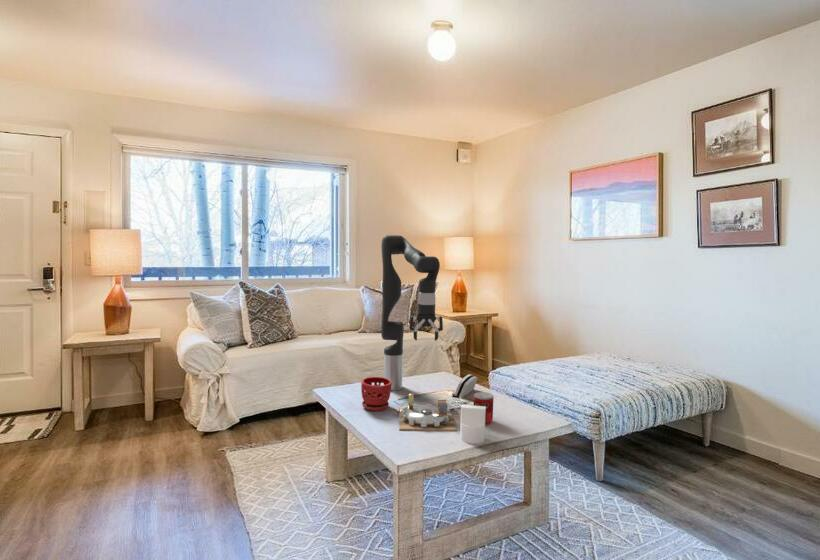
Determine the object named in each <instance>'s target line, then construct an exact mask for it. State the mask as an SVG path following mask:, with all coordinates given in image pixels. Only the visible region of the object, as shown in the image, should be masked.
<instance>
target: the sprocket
mask: <svg viewBox="0 0 820 560" xmlns="http://www.w3.org/2000/svg"><path fill="white" fill-rule="evenodd" d="M404 409H405V410H402V411H401V417H402V420H403V421H404V422H405V421H407V422H409V424H410V425H420V426H421V427H427V426H434V427H438V426H440V425H441V424H448V423H449V420H451V418H452V417H453V414H452V412H451V413H450V410H451V409H450V410H448V409H449V408H447V415H439V413H438V405H432V403H431V404H429V403H426V404H419V403H418V404H414V393H412V392H411V393H408V406H405V407H404Z"/></svg>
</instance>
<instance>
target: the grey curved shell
mask: <svg viewBox="0 0 820 560" xmlns="http://www.w3.org/2000/svg"><path fill="white" fill-rule="evenodd" d="M477 381H478V377H477V376H475V375H473V374H470V373H469V374H467V375H466V376H464V377H463V378H462V379H461V380H460V381H459V383H458V385H457V387H456V390H455V391H453V392H452V394H451V396H452V395H454V396H455V397H458V396H459V397H462V398H464V397H465V396H467V395H468V394H469V393H470V392H473V391H474V389H475V387H476V384H477ZM459 397H458V398H459Z"/></svg>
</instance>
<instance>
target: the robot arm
mask: <svg viewBox="0 0 820 560" xmlns="http://www.w3.org/2000/svg"><path fill="white" fill-rule="evenodd" d="M392 255H403V256H404V259H405V260H406V262H407V263H409V264H410V265H412V266H413V268H414V269H415V271H417V272H418V273H420V274H427V275H426V277H423V278H421V279H419V281H418V296H417V314H416V316H413V315H410V316H409V318H410V319H409V331H412V332H413V339H414V340H415V341H418V330H419V329H420V327H425V328H426V327H432V328H433V330H434V341H437V340H438V339H439V333H440V332H442V331H443V330H444V326H443V325H444V324H443V317H442V316H441V315H440V316H436V301H437V300H436V282H437V279H438V275H439V271H440V268H441V266H440V265H441V263H440V261H439V259H438V256H437V257H436V256H426V254H425V253H424V252H422V251H421V250H419V249H417V248H415V247H414V246H413V245H412V244H411V243H410V242H409V241H408V240H407V238H405V237H404V236H402V235H398V234H397V235H396V234H395V235H393V234H392V235H390V234H388V235H384V236H383V237H382V240H381V259H382V292H381V293H382V312H381V313H382V315H381V318H382V319H381V332H380V333H381V338H382V340H384V341H395V343H393V344H390V345H389V346H385V348H384V349H383V378H387V379H389V380H391V382H392V386H391V391H400V390H402V388H403V365H404V364H403V363H404V362H403V359H404V358H403V357H404V356H403V353H404V350H403V347H404V333H405V332H404V330H405V328H404V323H403V322H402V321H394V320H391V321H390V320H389V319H390V316H391V313H392V311H393V309H394V307H395V306H396V305H397V304H398V302H399V300H400V298H401V297H402V279H401V278H400V276H399V274H398V272H397V271H396V269H395V267H394V265H393V260H392V259H393V258H392ZM416 320H417V324H416V325H415V326H414V322H415V321H416ZM436 320H437V322H438V323H439V325H438V326H439V327H437V326H436V324H435V322H436Z"/></svg>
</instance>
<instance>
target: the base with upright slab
mask: <svg viewBox="0 0 820 560" xmlns="http://www.w3.org/2000/svg"><path fill="white" fill-rule="evenodd" d="M473 405H474V404H473ZM473 405H471V404H470V405H469V404H461V405H460V430H459V431H460V433H459V439H460V440H461V441H462V442H464V443H467V444H472V445H473V444H475V445H476V444H481V443H484V441H485V440H486V439H485V438H486V436H485V435H486V425H485V413H486V407H485V406H473Z"/></svg>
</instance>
